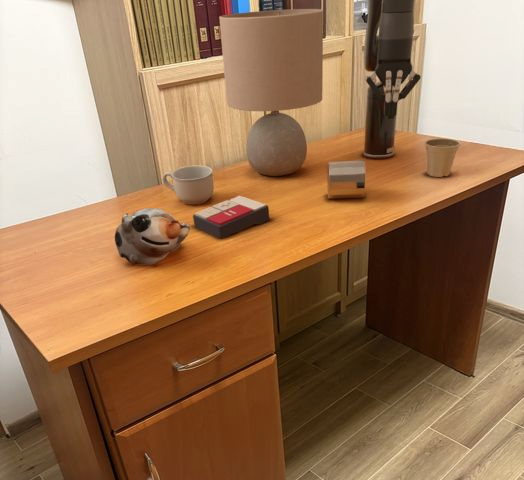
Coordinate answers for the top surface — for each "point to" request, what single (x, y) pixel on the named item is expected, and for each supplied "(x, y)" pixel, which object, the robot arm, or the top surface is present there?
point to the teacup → (191, 183)
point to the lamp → (273, 80)
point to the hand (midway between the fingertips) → (389, 118)
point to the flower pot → (440, 156)
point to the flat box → (231, 216)
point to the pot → (346, 179)
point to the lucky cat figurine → (149, 236)
